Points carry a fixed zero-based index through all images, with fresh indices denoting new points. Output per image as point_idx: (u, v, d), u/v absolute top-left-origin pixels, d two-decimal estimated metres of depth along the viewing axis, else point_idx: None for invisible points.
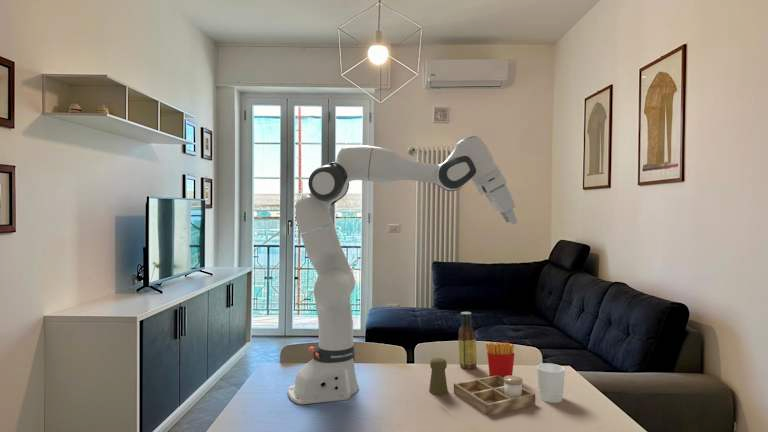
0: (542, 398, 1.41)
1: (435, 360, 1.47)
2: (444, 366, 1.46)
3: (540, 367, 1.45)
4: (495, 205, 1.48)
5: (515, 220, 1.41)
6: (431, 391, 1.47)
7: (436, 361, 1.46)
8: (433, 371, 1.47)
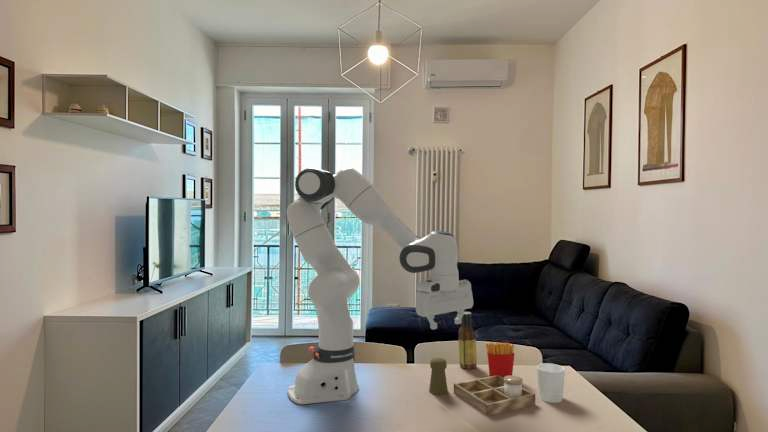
0: (542, 398, 1.41)
1: (435, 360, 1.47)
2: (444, 366, 1.46)
3: (540, 367, 1.45)
4: None
5: (432, 327, 1.45)
6: (431, 391, 1.47)
7: (436, 361, 1.46)
8: (433, 371, 1.47)
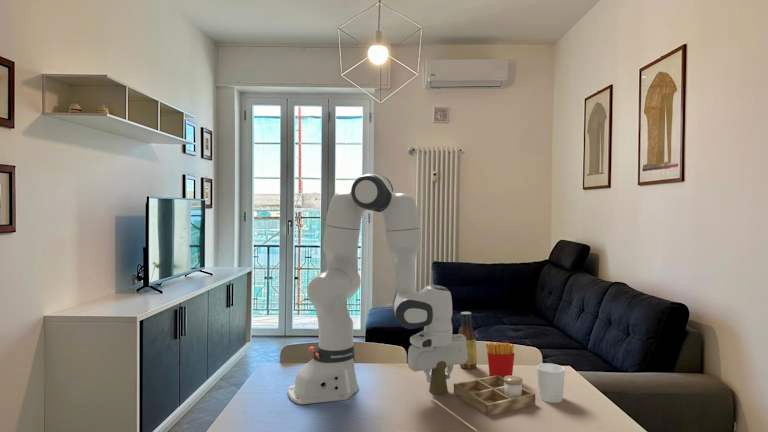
0: (542, 398, 1.41)
1: None
2: (444, 366, 1.46)
3: (540, 367, 1.45)
4: None
5: (428, 380, 1.46)
6: (431, 391, 1.47)
7: None
8: (433, 371, 1.47)
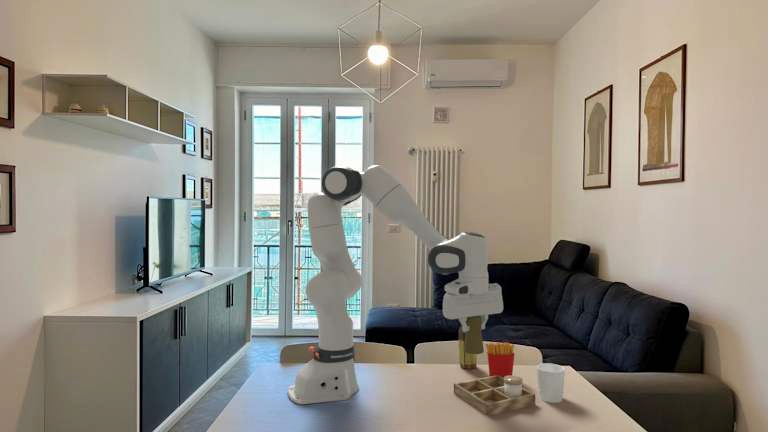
0: (542, 398, 1.41)
1: None
2: (480, 322, 1.42)
3: (540, 367, 1.45)
4: None
5: (464, 329, 1.42)
6: (467, 348, 1.42)
7: (472, 317, 1.42)
8: (469, 328, 1.43)
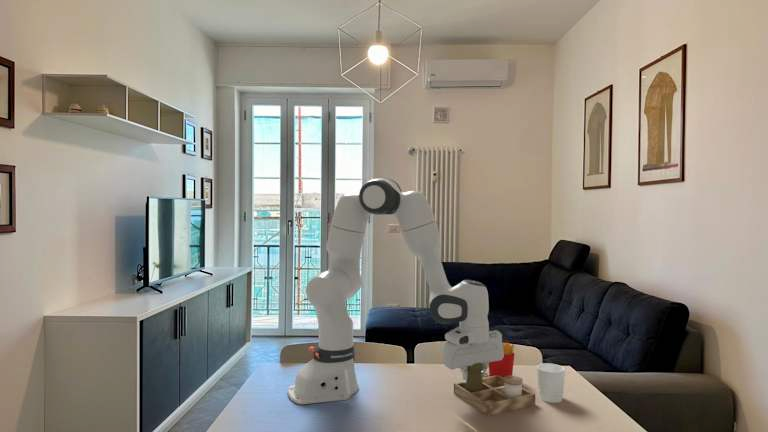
0: (542, 398, 1.41)
1: None
2: (481, 368, 1.42)
3: (540, 367, 1.45)
4: None
5: (465, 378, 1.42)
6: None
7: None
8: (469, 373, 1.43)
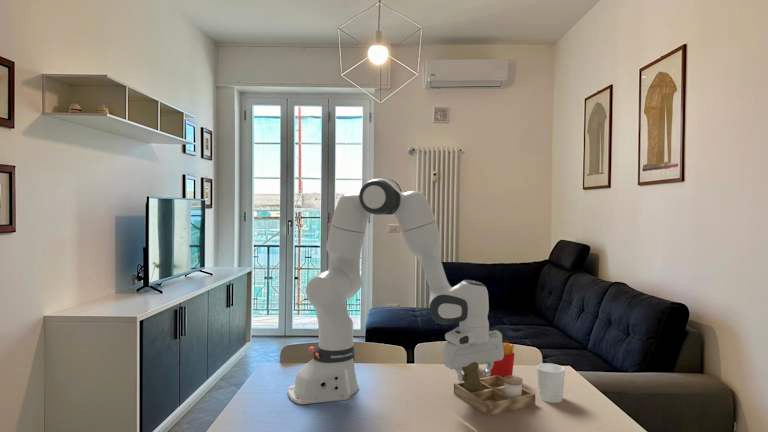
0: (542, 398, 1.41)
1: None
2: (476, 367, 1.41)
3: (540, 367, 1.45)
4: None
5: (460, 379, 1.42)
6: None
7: None
8: (466, 374, 1.42)
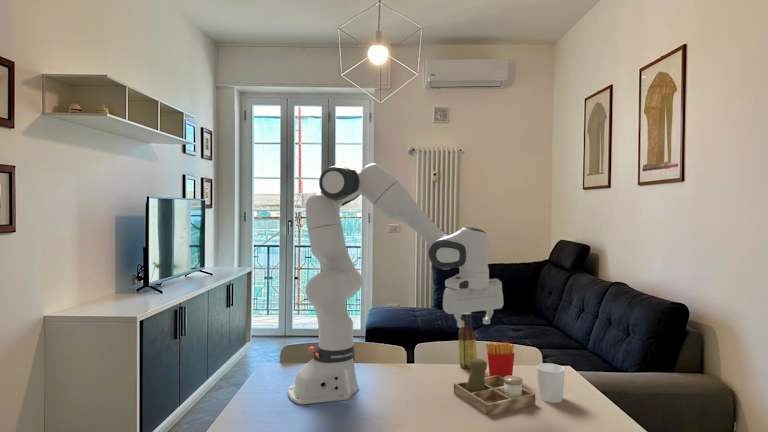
0: (542, 398, 1.41)
1: (476, 360, 1.43)
2: (485, 367, 1.42)
3: (540, 367, 1.45)
4: None
5: (459, 325, 1.41)
6: None
7: (477, 362, 1.42)
8: (473, 371, 1.43)
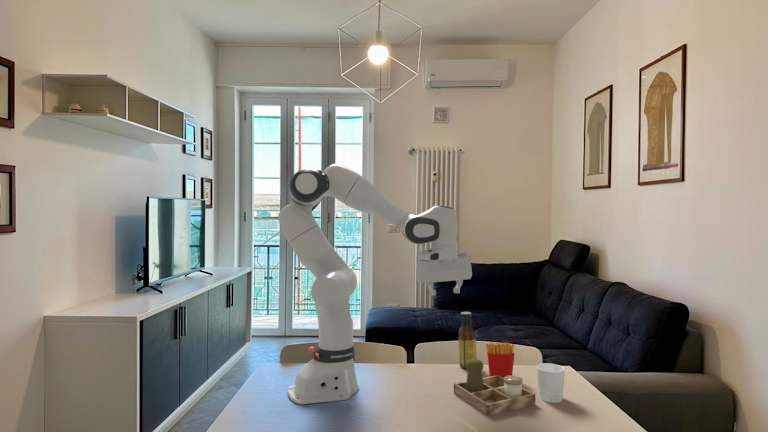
0: (542, 398, 1.41)
1: (472, 361, 1.43)
2: (481, 367, 1.42)
3: (540, 367, 1.45)
4: None
5: (431, 293, 1.56)
6: None
7: (473, 362, 1.43)
8: (470, 373, 1.43)
